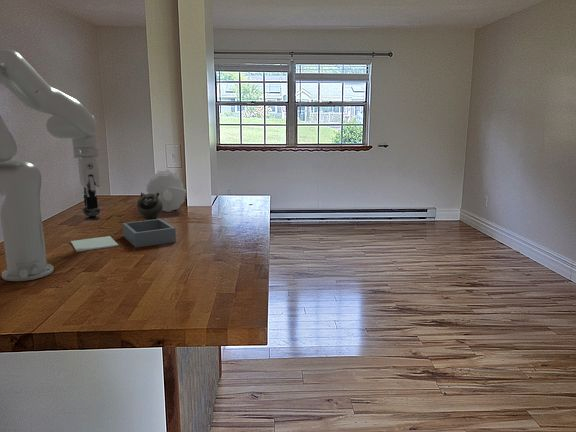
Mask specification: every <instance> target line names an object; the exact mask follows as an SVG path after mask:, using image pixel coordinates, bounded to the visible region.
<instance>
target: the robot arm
mask: <svg viewBox="0 0 576 432" xmlns="http://www.w3.org/2000/svg"><path fill="white" fill-rule="evenodd" d="M0 84H2V85H3V86H4V87H5V88H6V89H7V90H8V91H10V92H11V94H13V95H14V96H15V97H16V98H17V99H18V100H19V101H21V103H22V104H23V105H24V106H25V107H27V108H30V109H32V110H34V111H38V112H41V113H44V114H48V115H50V117H48V119H47V120H46V124H45V126H46V130H47V132H48V133H49V134H50V135H51V136H53V137H54V138H56V139H71V140H72V150H73V151H72V153H73V158H74V159H77V163H78V164H77V165H78V175H79V182H80V185H81V186H82V187H83V200H84V202H83V203H84V207H86V200H87V208H88V209H93V208H98V207H99V206H98V196H97V189H96V187H97V188H99V187H101V181H100V174H99V173H100V172H99V164H98V160H97V158H99V156H100V155H99V143H98V131H97V128H98V127H97V121H96V117H95V116H94V114H93V115H92V114H91V112H90V111H89V110H88V109H87V108H86V106H85V105H83V104H82V103H81V102H80V101H79V100H77V99H76V98H74V97H72V96H70V95H69V94H66V93H64V92H62V91H61V90H59V89H57V88H55V87H53V86H51V85H50V84H49V83H47V82H46V80H45V79H44V78H42V76H41V75H40V74H39V73H38V72H37V70H36V69H35V68H34V67H33V66H32V65H31V64H30V63H29V62H28V61H27V60H26V59H25V58H24V57H23V55H21V54H20V53H19V52H18V51H16V50H14V49H11V48H0ZM17 152H18V145H17V143H16V139H15V138H14V137H13V134H12V133H11V131H10V129H9V128H8V126H7V124H6V123H5V121H4V119H3V117H2V115H1V114H0V196H4V201H3V202H2V205H1V206H0V222H1V223H0V224H1V232H2V237H3V238H2V239H3V245H4V253H5V261H6V267H7V268H6V269H5V270H3V271H2V272H1V278H2V280H4V281H8V282H25V281H34V280H38V279H41V278H44V277H47V276H48V275H51V274H52V273H53V272H54V265H52V264H51V263H48V261H47V255H46V246H45V235H44V227H43V226H44V225H43V219H42V211H41V189H42V173H41V171H40V169H39V168H38V167H37V166H36V165H35V164H33V163H31V162H29V161H25V160H20V159H18V160H17V159H14V158H15V157H16V155H17ZM88 186H90V187H88ZM85 188H86V192H87V197H86V194H85ZM88 189H90V190H88ZM85 197H86V199H85Z"/></svg>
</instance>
